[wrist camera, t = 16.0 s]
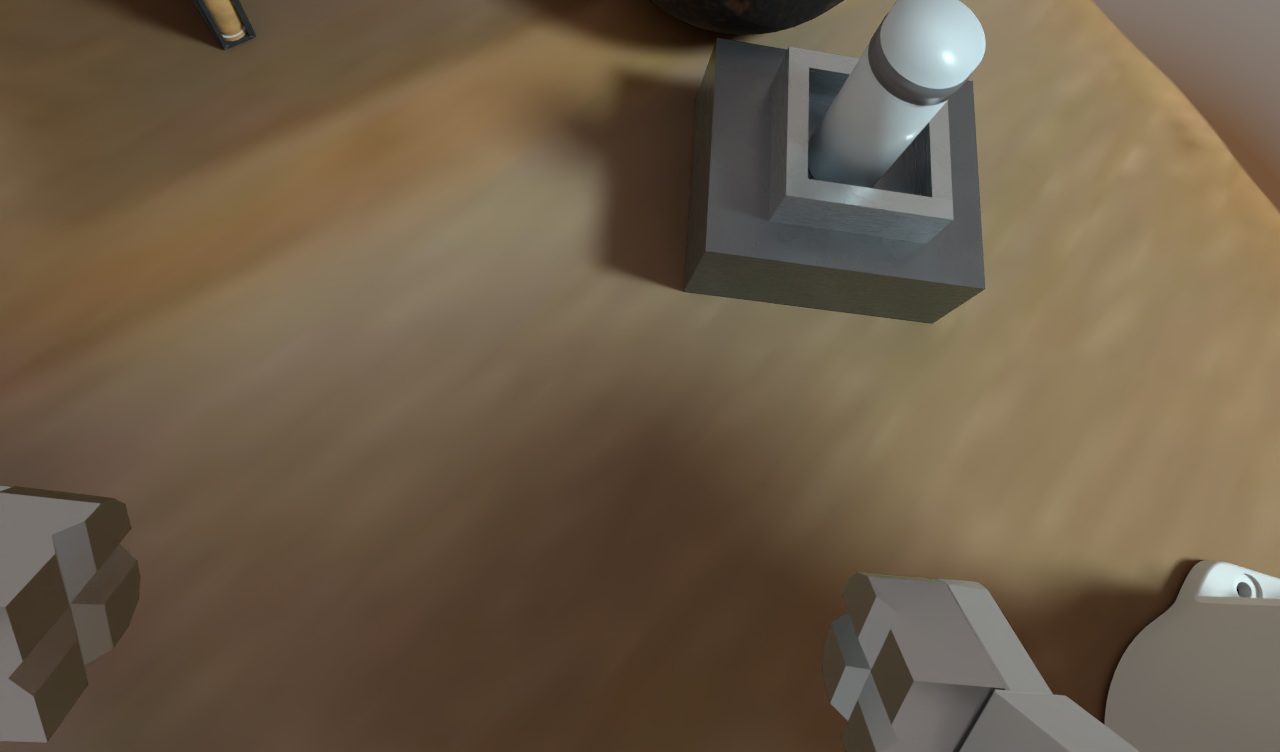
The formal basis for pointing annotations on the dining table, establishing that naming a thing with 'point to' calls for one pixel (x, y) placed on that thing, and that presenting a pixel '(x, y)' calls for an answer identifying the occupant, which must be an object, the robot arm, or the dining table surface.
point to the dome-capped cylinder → (895, 89)
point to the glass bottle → (745, 14)
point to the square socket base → (825, 197)
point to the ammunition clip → (225, 21)
